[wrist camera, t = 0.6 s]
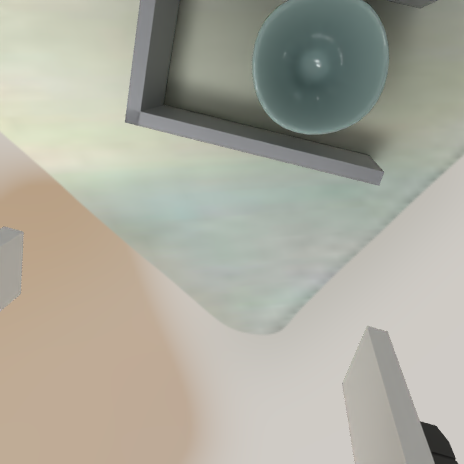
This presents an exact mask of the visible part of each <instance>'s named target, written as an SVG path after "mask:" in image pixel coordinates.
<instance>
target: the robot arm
mask: <svg viewBox="0 0 464 464" xmlns="http://www.w3.org/2000/svg"><path fill="white" fill-rule="evenodd" d="M23 235H24V233H23V232H22V231H19V230H15V229H12V228H8V227H2V228H1V229H0V311H1V310H2V309H4V307H6V306H7V305H8V304H9V303H11V302H12V301H13V300H14V299H15V298H16V297H18V296H19V295H20V294H21V276H22V255H23V254H22V253H23ZM342 385H343V392H344V398H345V405H346V411H347V417H348V423H349V430H350V436H351V442H352V449H353V455H354V461H355V464H458V463H457V461H455V455H454V453H453V451H452V448H451V446H450V444H449V441H448V440H447V439H446V438H445V436H444V435H443V434H442V433H441V431H440V430H439V429H438V427H437V426H435V425H431V424H428V423H424V422H420V421H419V418H418V415H417V412H416V410H415V407H414V404H413V401H412V398H411V396H410V393H409V390H408V387H407V384H406V382H405V379H404V376H403V373H402V370H401V368H400V365H399V362H398V359H397V357H396V354H395V351H394V348H393V345H392V342H391V340H390V337H389V334H388V332H387V331H384V330H380V329H376V328H373V327H369V326H367V327H366V330H365V332H364V334H363V336H362V339H361V341H360V343H359V346H358V348H357V350H356V353H355V355H354V357H353V360H352V362H351V364H350V366H349V369H348V371H347V373H346V376H345V378H344V380H343V383H342Z"/></svg>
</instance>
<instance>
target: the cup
mask: <svg viewBox="0 0 464 464" xmlns="http://www.w3.org/2000/svg"><path fill="white" fill-rule="evenodd" d="M388 65H389V48H388V41H387V36H386V32H385V29H384V26H383V24H382V22H381V20H380V18H379V16H378V15H377V13H376V12H375V11H374V10H373V8H372V7H371V6H370V5H369V4H368V3H366V2H365V1H363V0H287V1H286V2H284V3H283V4H281V5H280V6H278V7H277V8H276V9H275V10H274V11H273V12H272V13H271V14H270V15H269V16H268V17H267V18H266V20H265V22H264V23H263V25H262V27H261V28H260V30H259V32H258V35H257V38H256V41H255V44H254V49H253V55H252V77H253V83H254V89H255V91H256V94H257V97H258V100H259V102H260V104H261V106H262V107H263V109H264V111H265V112H266V113H267V115H268V116H269V117H270V118H271V119H272V120H273V121H274V122H276V123H277V124H279V125H280V126H281V127H283V128H285V129H288V130H290V131H293V132H296V133H302V134H308V135H321V134H327V133H333V132H337V131H339V130H342V129H345V128H348V127H349V126H351V125H353V124H355V123H357V122H358V121H360V120H361V119H362V118H363V117H364V116H365V115H367V114H368V113H369V112H370V111H371V109H372V108H373V107H374V105H375V104H376V102H377V101H378V99H379V97H380V95H381V93H382V91H383V88H384V85H385V82H386V78H387V74H388Z"/></svg>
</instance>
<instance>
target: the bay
mask: <svg viewBox="0 0 464 464" xmlns="http://www.w3.org/2000/svg"><path fill="white" fill-rule="evenodd" d="M387 1H391V2H396V3H400V4H404V5H409V6H413V7H417V8H422V7H424V6H426V5H429V4H431V3H433V2H435V1H437V0H387ZM179 3H180V0H140V6H139V14H138V22H137V30H136V38H135V46H134V54H133V62H132V70H131V78H130V86H129V94H128V102H127V110H126V118H125V122H126V123H130V124H134V125H138V126H142V127H146V128H150V129H154V130H158V131H162V132H166V133H170V134H174V135H178V136H182V137H186V138H190V139H194V140H198V141H202V142H206V143H210V144H214V145H218V146H222V147H226V148H230V149H234V150H238V151H242V152H246V153H250V154H254V155H258V156H262V157H266V158H270V159H274V160H278V161H282V162H286V163H290V164H294V165H298V166H302V167H307V168H311V169H315V170H319V171H323V172H327V173H331V174H335V175H339V176H343V177H347V178H351V179H355V180H359V181H363V182H367V183H371V184H375V185H380V182H381V179H382V176H383V174H384V171H383V170H382V169H381V168H380V167H379V166H378V165H377V163H376V162H375V161H374V160H373V159H372V158H371V157H370V156H369V155H365V154H361V153H357V152H353V151H349V150H345V149H341V148H337V147H333V146H329V145H325V144H321V143H317V142H312V141H308V140H304V139H300V138H296V137H292V136H288V135H284V134H280V133H276V132H272V131H268V130H264V129H260V128H256V127H252V126H248V125H244V124H239V123H235V122H231V121H227V120H223V119H219V118H215V117H211V116H207V115H203V114H199V113H195V112H191V111H187V110H183V109H179V108H175V107H171V106H167V105H164V99H165V92H166V86H167V80H168V73H169V67H170V60H171V54H172V47H173V41H174V35H175V28H176V22H177V15H178V9H179Z"/></svg>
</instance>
